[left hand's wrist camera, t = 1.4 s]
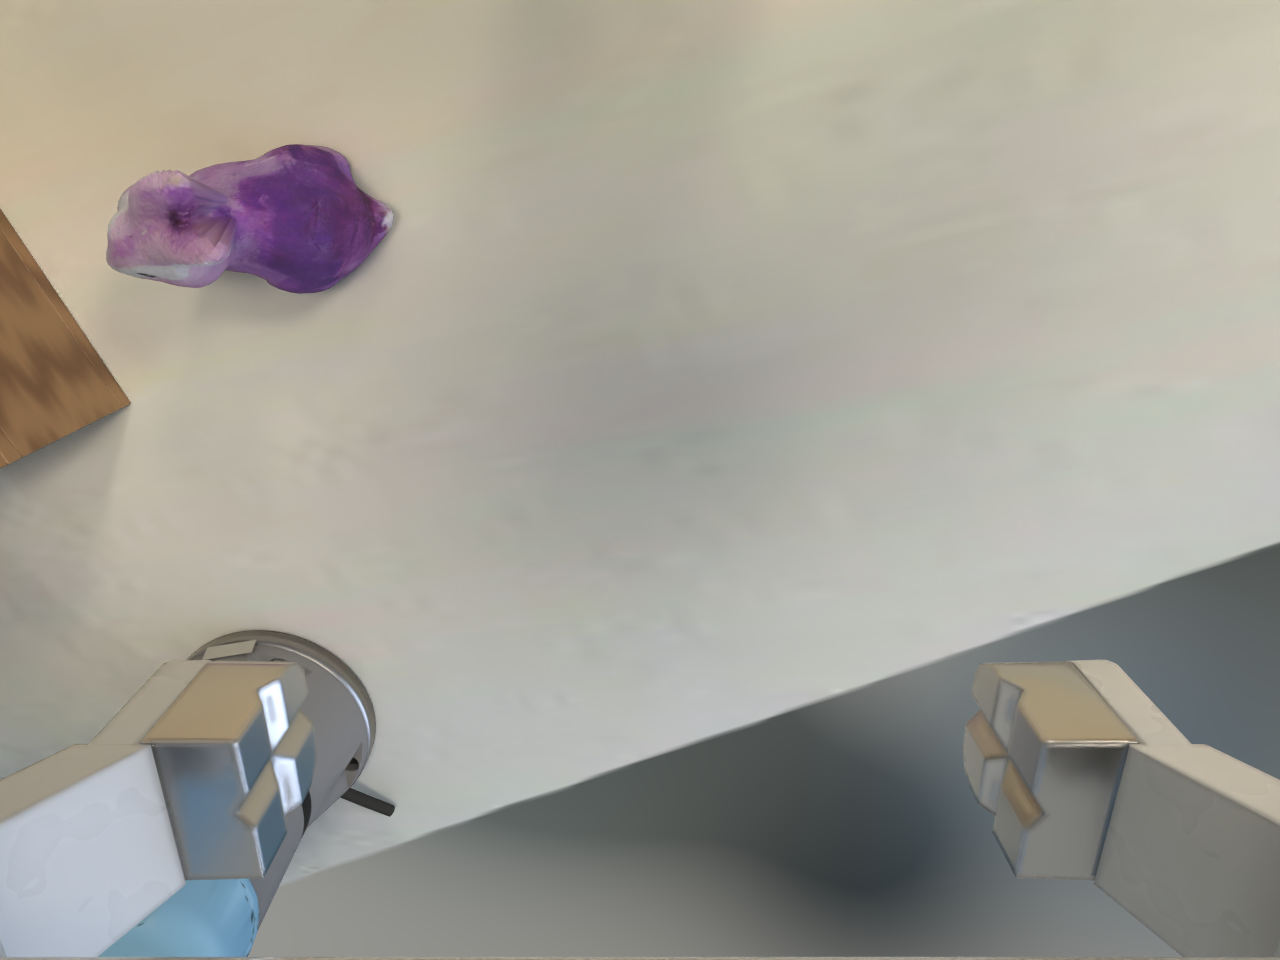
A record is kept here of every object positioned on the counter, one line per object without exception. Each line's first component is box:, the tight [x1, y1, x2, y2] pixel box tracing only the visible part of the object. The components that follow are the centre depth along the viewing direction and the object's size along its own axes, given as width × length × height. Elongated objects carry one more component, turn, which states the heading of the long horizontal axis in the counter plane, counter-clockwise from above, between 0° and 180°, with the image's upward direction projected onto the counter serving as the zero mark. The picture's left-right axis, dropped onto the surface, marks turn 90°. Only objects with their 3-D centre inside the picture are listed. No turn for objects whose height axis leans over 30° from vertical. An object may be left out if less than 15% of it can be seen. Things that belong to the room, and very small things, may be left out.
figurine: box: [106, 145, 394, 293], centre depth 45 cm, size 9×10×15 cm
